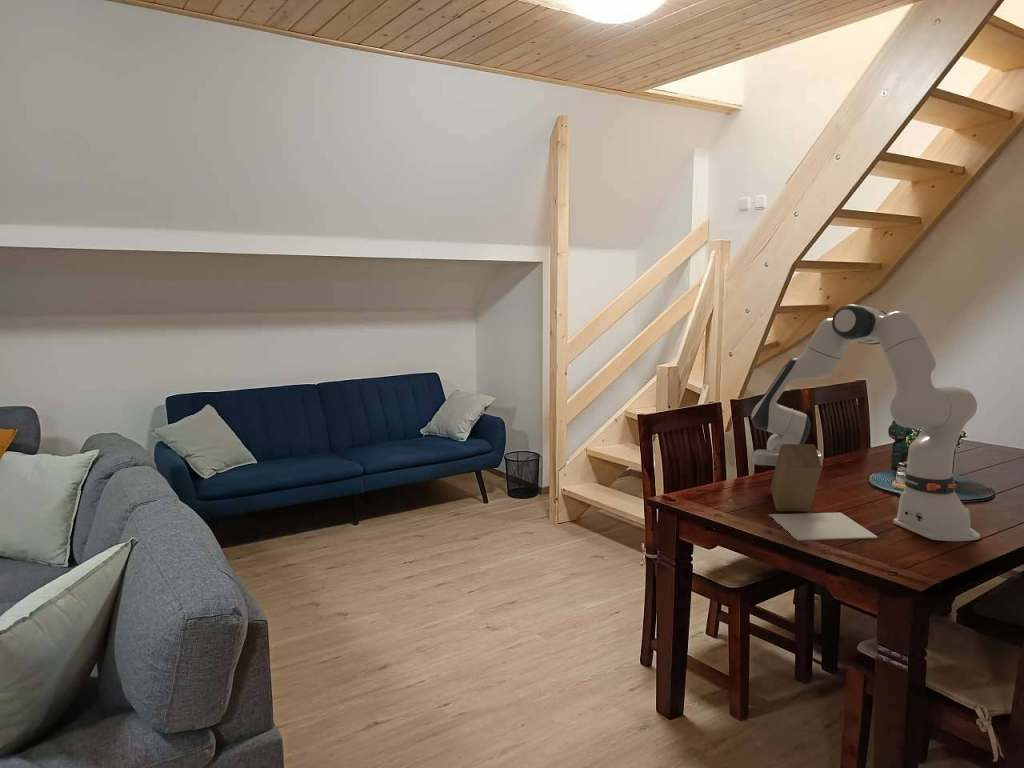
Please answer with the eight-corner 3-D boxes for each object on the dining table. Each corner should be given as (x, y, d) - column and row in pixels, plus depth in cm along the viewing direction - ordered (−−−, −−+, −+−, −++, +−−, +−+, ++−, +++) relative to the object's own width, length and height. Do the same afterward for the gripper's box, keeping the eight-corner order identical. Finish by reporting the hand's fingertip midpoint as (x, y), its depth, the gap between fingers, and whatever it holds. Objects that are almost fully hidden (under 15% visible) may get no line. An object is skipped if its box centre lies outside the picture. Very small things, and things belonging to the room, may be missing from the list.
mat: (877, 538, 198) (877, 536, 198) (797, 540, 198) (797, 538, 197) (840, 513, 219) (840, 512, 219) (767, 515, 218) (767, 514, 218)
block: (802, 487, 228) (815, 442, 214) (809, 513, 220) (823, 468, 207) (769, 487, 229) (780, 442, 215) (775, 512, 221) (787, 468, 208)
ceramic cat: (885, 467, 271) (888, 414, 268) (893, 464, 275) (896, 412, 272) (942, 478, 255) (946, 421, 253) (950, 475, 259) (954, 419, 256)
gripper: (750, 443, 238) (754, 453, 224) (818, 445, 233) (826, 455, 220) (750, 462, 239) (754, 473, 225) (817, 464, 234) (825, 476, 221)
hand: (790, 464), depth 222 cm, fingers closed
